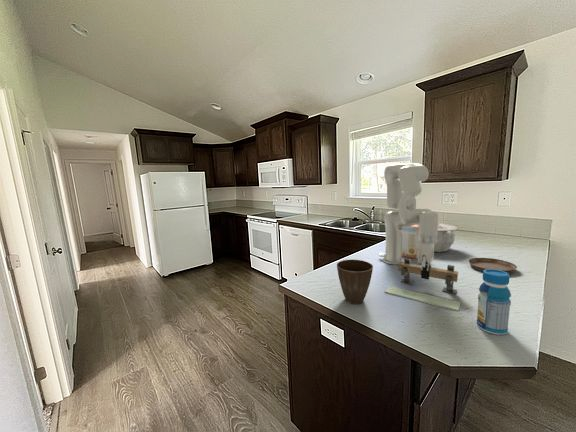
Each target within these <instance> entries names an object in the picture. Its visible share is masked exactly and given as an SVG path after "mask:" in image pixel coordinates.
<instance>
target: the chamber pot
mask: <svg viewBox="0 0 576 432" xmlns="http://www.w3.org/2000/svg"><path fill="white" fill-rule="evenodd" d="M417 226H419V225H417ZM458 229H459V228H458V227H457V226H456V225H453V224H450V223H443V222H438V232H437V243H434V253H443V252H447V251H448V250H450V248H452V246H453V245H454V242H455V239H456V234H455V232H454V231H457V230H458Z"/></svg>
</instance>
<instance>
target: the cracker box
mask: <svg viewBox="0 0 576 432" xmlns="http://www.w3.org/2000/svg"><path fill="white" fill-rule="evenodd" d="M418 227H419V226H417V225H413V226H404V227H398V228H399V230H400V231H401V232H402V257H405V258H409V259H411V258H412V259H417V260H418V253H419V244H420V242H418Z"/></svg>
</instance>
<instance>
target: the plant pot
mask: <svg viewBox="0 0 576 432" xmlns="http://www.w3.org/2000/svg"><path fill="white" fill-rule="evenodd" d="M336 268H337V274H338V279H339V284H340V288H341V291H342V293H343V297H344V298H345V301H346V302H347V303H349V304H352V305H360V304H362V303H363V302H364V300H365V298H366V296H367V293H368V290H369V287H370V284H371V281H372V275H373V270H374V265H373V264H372V263H370V262H368V261H365V260H363V259H362V260H361V259H344V260H341V261H339V262H337V263H336Z"/></svg>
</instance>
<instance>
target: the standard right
mask: <svg viewBox="0 0 576 432" xmlns="http://www.w3.org/2000/svg"><path fill="white" fill-rule="evenodd" d="M446 267H447V269H446V270H451V271H455V265H451V264H447V266H446ZM454 283H455V282H454V281H451V277H447V276H446V278H445V280H444V284H445V285H446V287H445V286H444V287H443V288H442V292H444V293H448V294H453V295H457V291H458V290H457V289H454Z"/></svg>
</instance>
